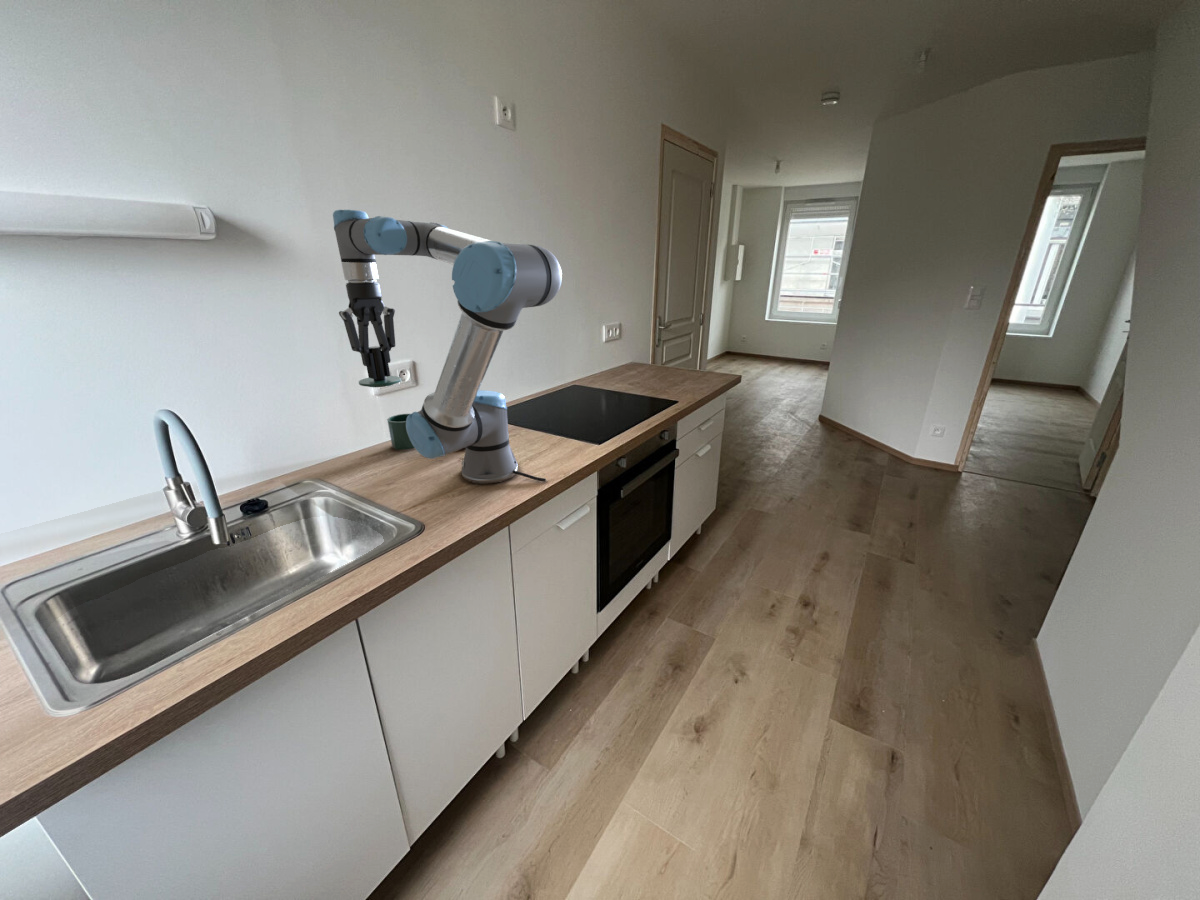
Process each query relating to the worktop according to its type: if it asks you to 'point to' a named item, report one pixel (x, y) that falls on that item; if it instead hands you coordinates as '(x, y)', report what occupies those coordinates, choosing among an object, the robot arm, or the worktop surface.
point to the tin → (399, 432)
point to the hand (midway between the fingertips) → (379, 376)
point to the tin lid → (379, 372)
